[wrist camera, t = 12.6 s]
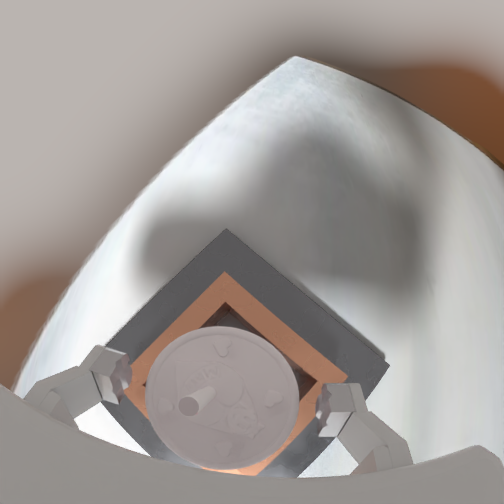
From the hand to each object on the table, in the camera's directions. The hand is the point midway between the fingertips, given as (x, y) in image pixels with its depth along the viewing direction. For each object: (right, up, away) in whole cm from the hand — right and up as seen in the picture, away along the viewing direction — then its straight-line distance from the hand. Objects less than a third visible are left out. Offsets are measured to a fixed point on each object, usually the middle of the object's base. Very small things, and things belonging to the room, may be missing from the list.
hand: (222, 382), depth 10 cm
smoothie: (0, -5, +8) cm, 10 cm away
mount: (0, -5, +9) cm, 10 cm away
